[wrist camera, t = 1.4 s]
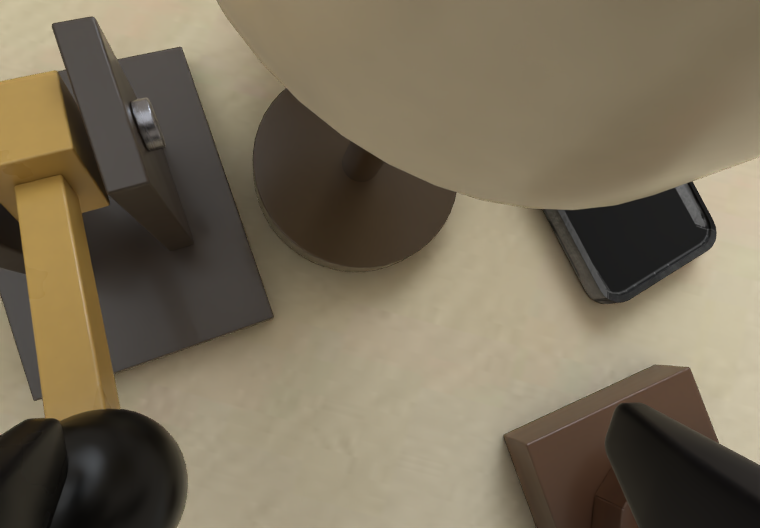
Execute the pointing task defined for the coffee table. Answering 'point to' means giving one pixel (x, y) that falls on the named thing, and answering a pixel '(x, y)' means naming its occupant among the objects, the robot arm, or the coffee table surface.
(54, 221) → the lever
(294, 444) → the coffee table surface
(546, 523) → the switch box
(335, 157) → the lamp
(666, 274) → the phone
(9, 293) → the lamp switch
